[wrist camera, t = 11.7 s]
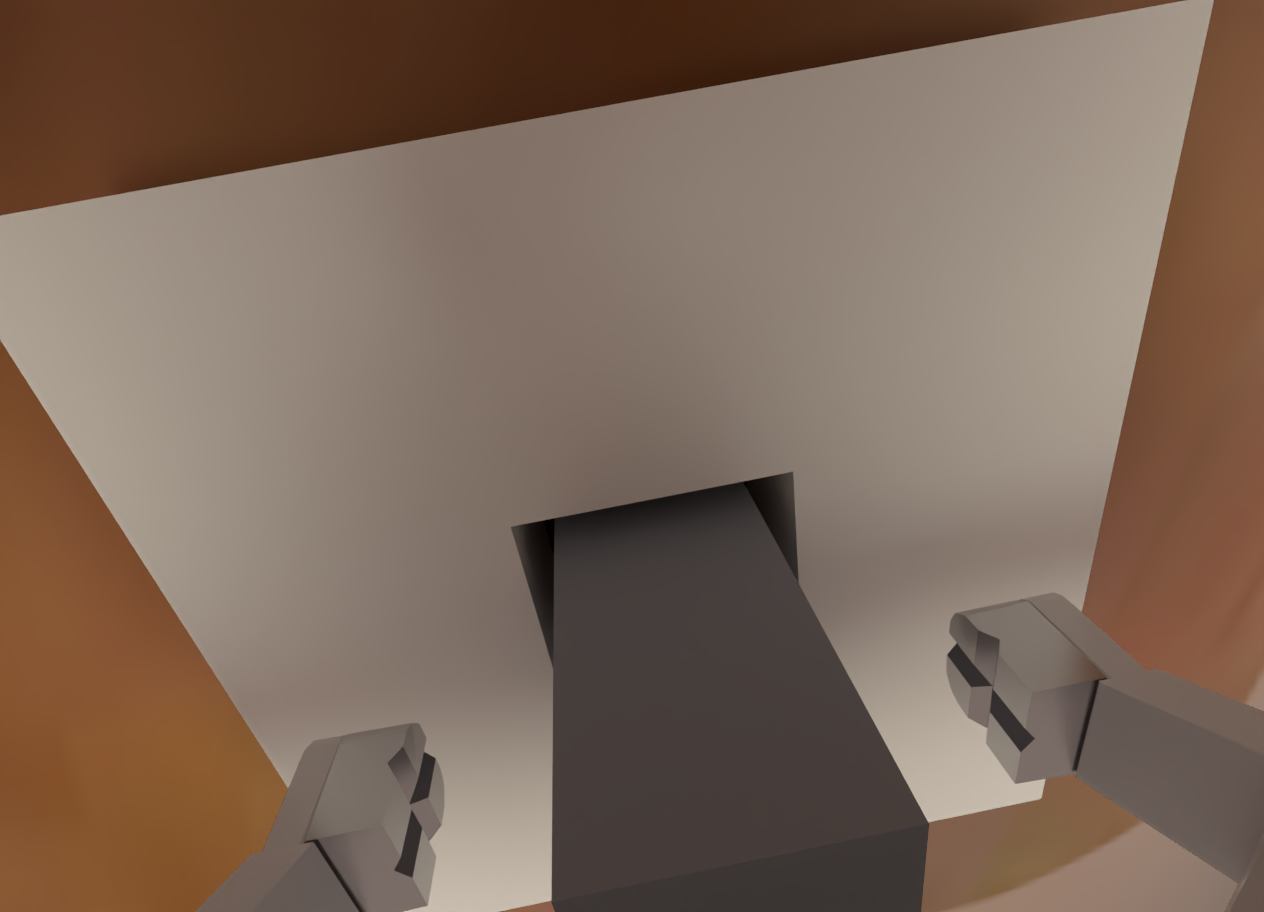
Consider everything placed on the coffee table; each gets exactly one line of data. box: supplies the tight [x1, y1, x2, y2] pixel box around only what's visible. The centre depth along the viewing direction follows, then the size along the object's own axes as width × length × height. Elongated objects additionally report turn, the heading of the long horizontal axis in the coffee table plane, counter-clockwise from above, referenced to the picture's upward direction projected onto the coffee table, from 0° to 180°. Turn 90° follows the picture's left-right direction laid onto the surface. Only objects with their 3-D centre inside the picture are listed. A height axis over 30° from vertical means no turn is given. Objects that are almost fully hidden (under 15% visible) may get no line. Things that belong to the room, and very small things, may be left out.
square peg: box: [551, 482, 929, 912], centre depth 11 cm, size 4×4×9 cm
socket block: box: [0, 0, 1214, 912], centre depth 13 cm, size 16×16×4 cm
